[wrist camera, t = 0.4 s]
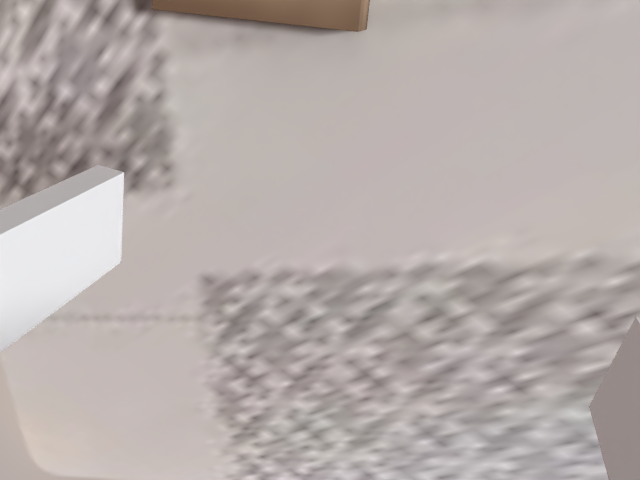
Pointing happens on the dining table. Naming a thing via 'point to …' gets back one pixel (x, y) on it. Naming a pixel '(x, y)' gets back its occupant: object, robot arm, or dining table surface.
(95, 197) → the robot arm
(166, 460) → the dining table surface
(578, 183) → the dining table surface
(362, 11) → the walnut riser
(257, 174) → the dining table surface
